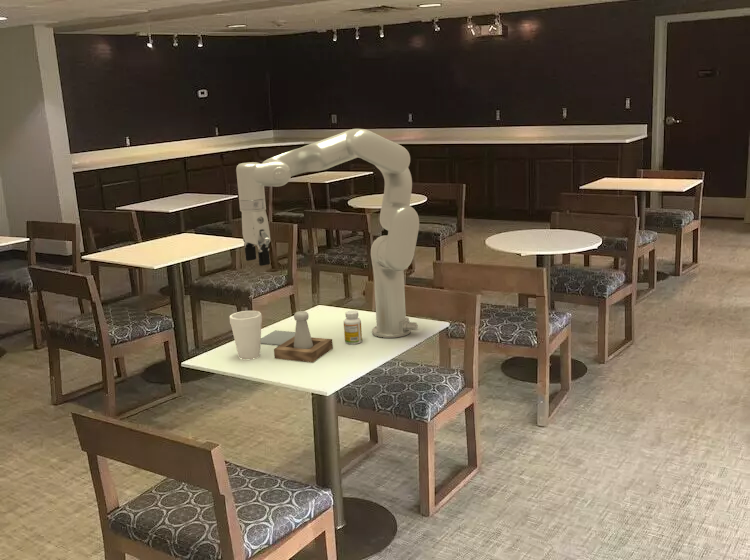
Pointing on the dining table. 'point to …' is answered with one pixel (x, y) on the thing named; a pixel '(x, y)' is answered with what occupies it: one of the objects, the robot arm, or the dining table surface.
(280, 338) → the grey mat
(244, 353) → the foam cup
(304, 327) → the salt shaker
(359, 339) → the supplement bottle
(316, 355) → the block
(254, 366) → the dining table surface
